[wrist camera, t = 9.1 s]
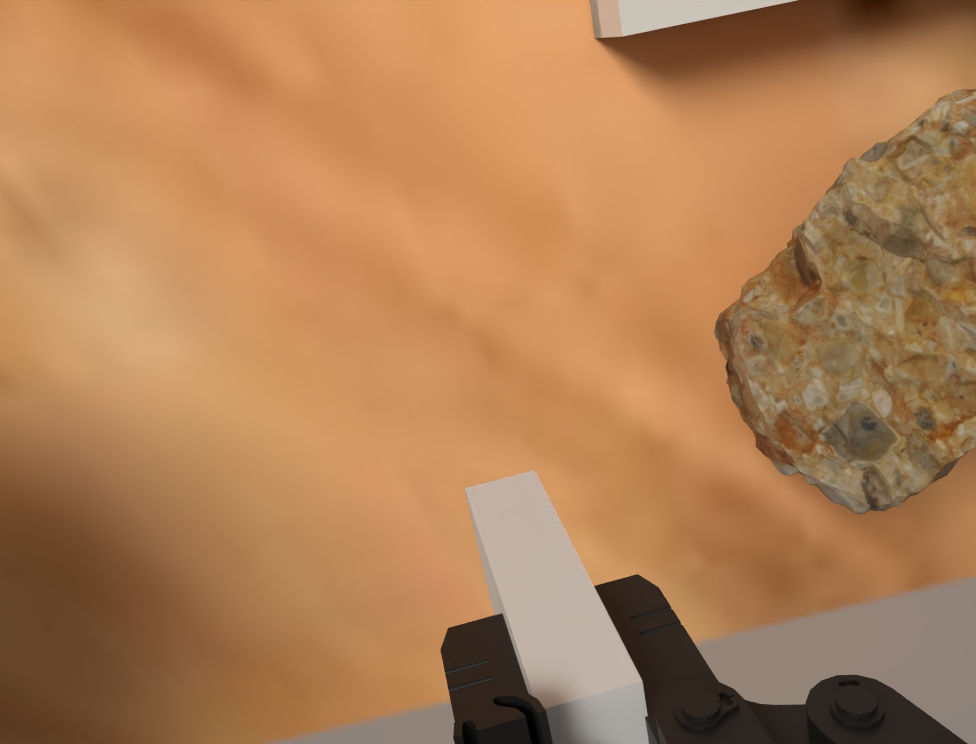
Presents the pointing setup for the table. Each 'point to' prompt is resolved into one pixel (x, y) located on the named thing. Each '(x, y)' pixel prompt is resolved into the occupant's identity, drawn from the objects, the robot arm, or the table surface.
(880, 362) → the rock
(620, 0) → the tray
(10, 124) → the table surface
